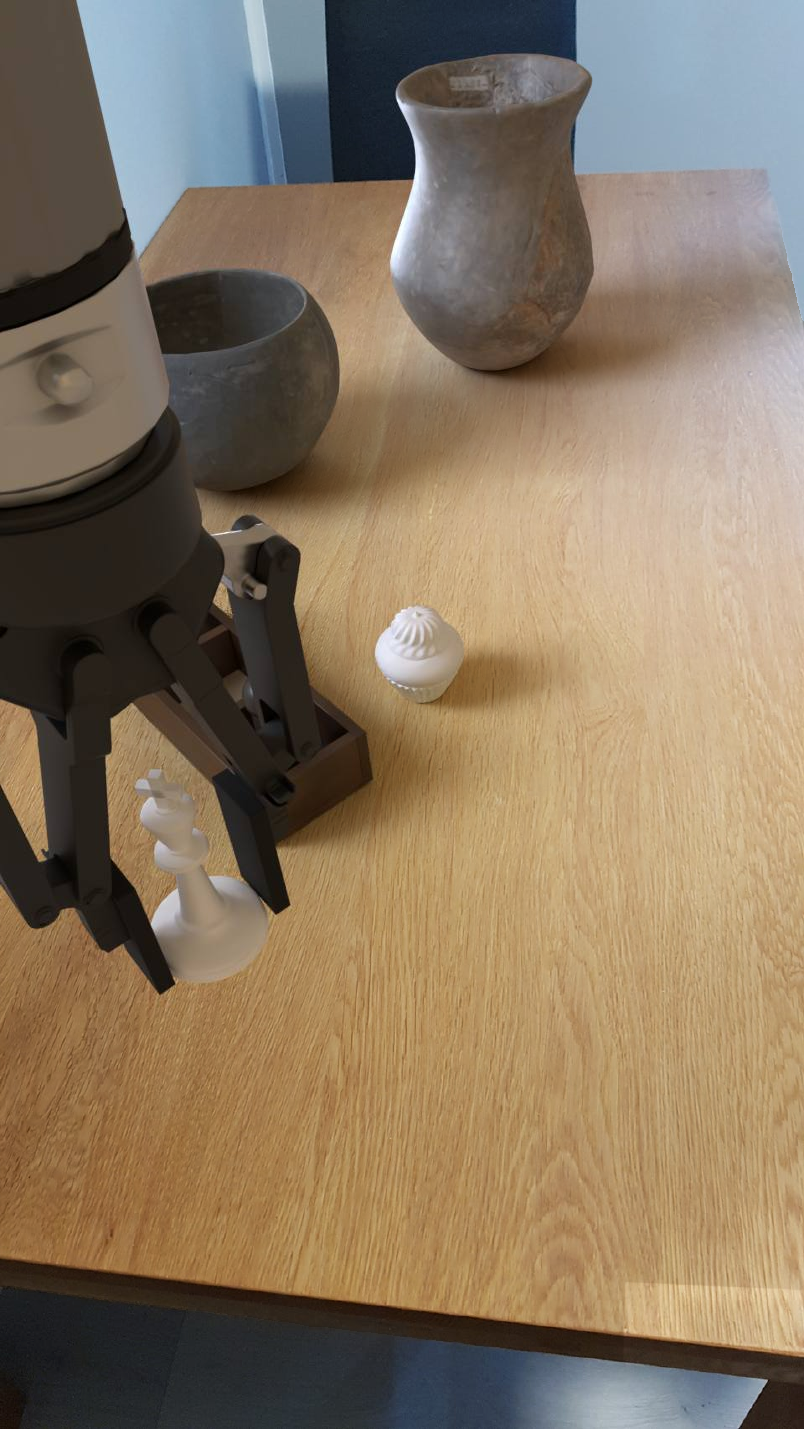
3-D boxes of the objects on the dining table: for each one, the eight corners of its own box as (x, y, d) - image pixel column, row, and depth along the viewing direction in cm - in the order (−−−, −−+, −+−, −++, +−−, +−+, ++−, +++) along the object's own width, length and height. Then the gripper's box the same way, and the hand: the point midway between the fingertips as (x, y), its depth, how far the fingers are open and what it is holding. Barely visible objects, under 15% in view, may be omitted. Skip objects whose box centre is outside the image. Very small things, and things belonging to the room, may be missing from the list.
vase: (362, 354, 112) (332, 86, 94) (501, 294, 119) (498, 35, 101) (485, 425, 100) (478, 135, 82) (631, 354, 107) (654, 73, 90)
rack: (273, 847, 67) (260, 800, 64) (99, 670, 80) (81, 623, 77) (373, 780, 70) (366, 731, 67) (191, 620, 83) (178, 573, 80)
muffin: (416, 647, 79) (409, 571, 74) (483, 679, 76) (481, 603, 71) (361, 695, 76) (350, 620, 71) (429, 731, 73) (423, 655, 68)
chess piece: (174, 877, 47) (114, 718, 40) (282, 889, 46) (240, 729, 39) (135, 976, 44) (62, 821, 37) (250, 991, 43) (199, 835, 36)
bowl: (339, 528, 90) (314, 362, 80) (103, 535, 92) (48, 373, 82) (360, 405, 104) (342, 249, 94) (156, 413, 107) (115, 262, 96)
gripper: (-280, 664, 22) (55, 1134, 39) (388, 359, 30) (431, 864, 46) (-360, 516, 27) (-28, 996, 43) (240, 281, 34) (328, 769, 51)
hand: (209, 927), depth 45 cm, fingers closed on chess piece, 5 cm apart
